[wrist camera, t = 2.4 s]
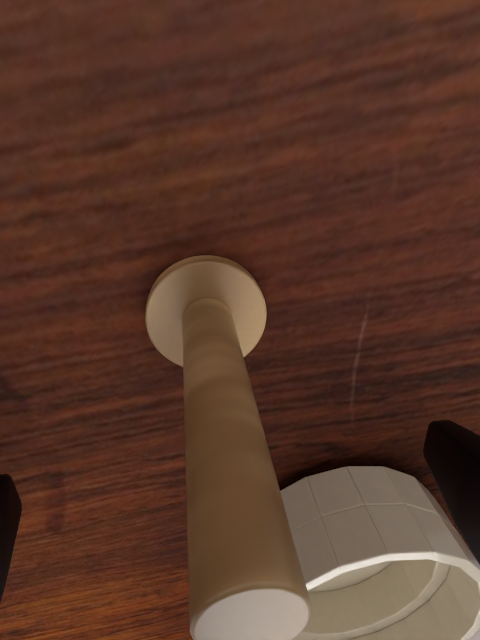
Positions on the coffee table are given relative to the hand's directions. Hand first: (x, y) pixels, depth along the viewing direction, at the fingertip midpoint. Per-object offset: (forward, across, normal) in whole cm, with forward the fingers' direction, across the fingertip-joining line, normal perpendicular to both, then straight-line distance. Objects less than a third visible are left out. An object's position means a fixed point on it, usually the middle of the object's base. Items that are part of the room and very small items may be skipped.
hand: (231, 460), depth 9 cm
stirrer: (+8, 0, 0) cm, 8 cm away
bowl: (+8, -6, +14) cm, 17 cm away
